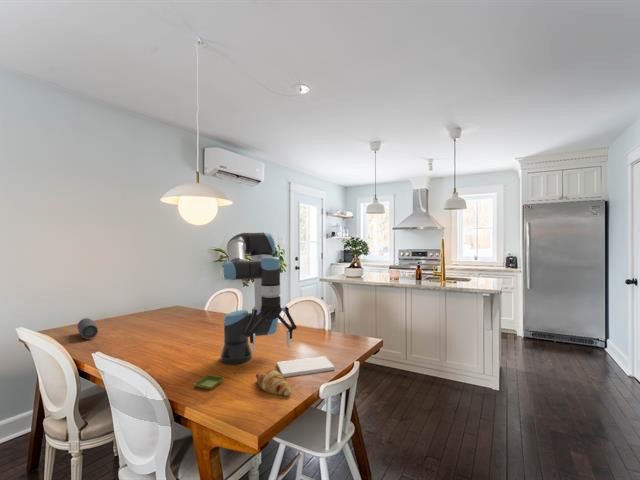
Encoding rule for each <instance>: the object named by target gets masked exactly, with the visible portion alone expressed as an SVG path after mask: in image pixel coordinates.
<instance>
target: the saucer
mask: <svg viewBox="0 0 640 480" xmlns="http://www.w3.org/2000/svg"><path fill="white" fill-rule="evenodd" d="M224 379H225V377H222V376H218V375H211V374H207V375H206V376H203V377H202V378H200V379H199V380H197V381H195V382H194V383H193V385H194V386H195V387H197V388H201V389H206V390H213V389H214V388H215V387H217V386H218V385H219V384H221V383H222V382H223V380H224Z"/></svg>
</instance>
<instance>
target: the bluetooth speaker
mask: <svg viewBox="0 0 640 480" xmlns="http://www.w3.org/2000/svg"><path fill="white" fill-rule="evenodd" d="M77 331H78V333H79V335H80V336H81V337H82V338H84V339H85V340H88V339H93V338H95V337H96V336H97V335H98V331H99V328H98V325H97V324H96V322H95V321H94V320H93V319H91V318H88V317H87V318H82V319H80V321H79V322H78V323H77Z"/></svg>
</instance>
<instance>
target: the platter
mask: <svg viewBox="0 0 640 480" xmlns="http://www.w3.org/2000/svg"><path fill="white" fill-rule="evenodd" d="M276 366H277V368H278V370H279V371H278V372H279V373H281V375H282V376H283V378H286V377H287V378H288V377H293V376H294V377H295V376H301V375H310V374H316V373H323V372H330V371H335V369H336V367H335V366H334V364H333V363H332V362H331V361H330V360H329V359H328V357H327V356H326V355H322V356H313V357H306V358H298V359H289V360H284V361H281V360H280V361H277V362H276Z"/></svg>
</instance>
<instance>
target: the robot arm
mask: <svg viewBox="0 0 640 480" xmlns="http://www.w3.org/2000/svg"><path fill="white" fill-rule="evenodd" d="M226 251H227V253H228V261H225V262H224V263H223V269H222V270H223V279H224V280H229V281H237V280H253V283H254V284H253V285H254V287H253V288H254V306H253V308H251V312H250V313H249V311H248V310H246V309H244V310H243V309H240V310H235V311H231V312H229V313H226V315H225V316H224V317H223V318H224V320H223V326H224V327H223V329H224V330H223V332H224V333H223V334H224V335H223V336H224V337H223V343H224V344H223V347H222V350H221V353H220V361H221V362H222V363H223V364H227V365H238V364H243V363H247V362H249V361H250V360H251V359H252V358H253V353H255V352H256V337H263V336H264V337H265V336H271V335H272V336H273V335H274V334H276V332H277V329H278V322H279V321H280V322H281V323H282V324H283V325H284V327H286V348H288V349H290V348H291V340H292V339H293V331H295V330H297V328H298V327H297V326H296V324H295V321H294V320H293V317H292V316H291V314H290V310H289V307H288V305H285V306H284V307H281V296H280V295H281V262H280V259H281V258H279V257H277V256H274V254H275V253H276V244H275V239H274V236H273V234H272V233H270V232H242V233H238V234H236V235H234V236H232V237H231V238H230V239H229V240H228V243H227V245H226ZM246 255H250V258H251V260H250V261H247V260H246ZM282 312H283V313H284V314H285V316H286V317H287V319H288V321H289V323H290V324H288V323H287V322H286V320H285V319H284V318H283V317H282V316H281V315H280V314H281V313H282ZM290 325H291V326H290ZM249 341H250V342H249ZM250 344H252V349H251V347H250ZM252 351H253V353H252Z"/></svg>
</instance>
